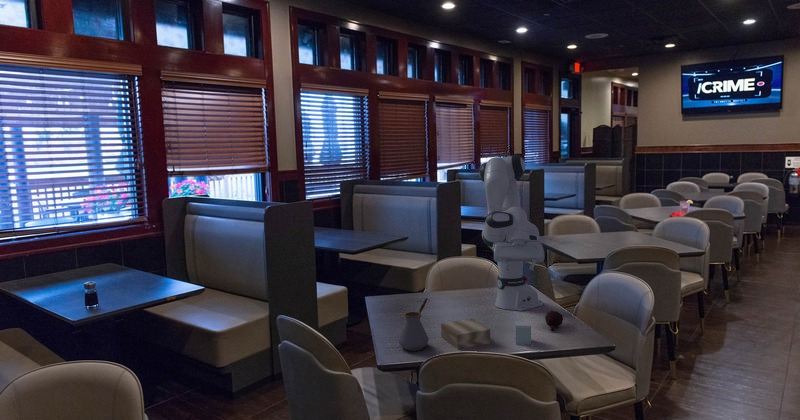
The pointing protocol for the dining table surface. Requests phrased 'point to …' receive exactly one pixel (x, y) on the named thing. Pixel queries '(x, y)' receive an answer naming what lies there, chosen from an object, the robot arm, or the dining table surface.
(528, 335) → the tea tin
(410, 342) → the coffee pot
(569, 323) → the dining table surface
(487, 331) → the oak box
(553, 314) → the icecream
